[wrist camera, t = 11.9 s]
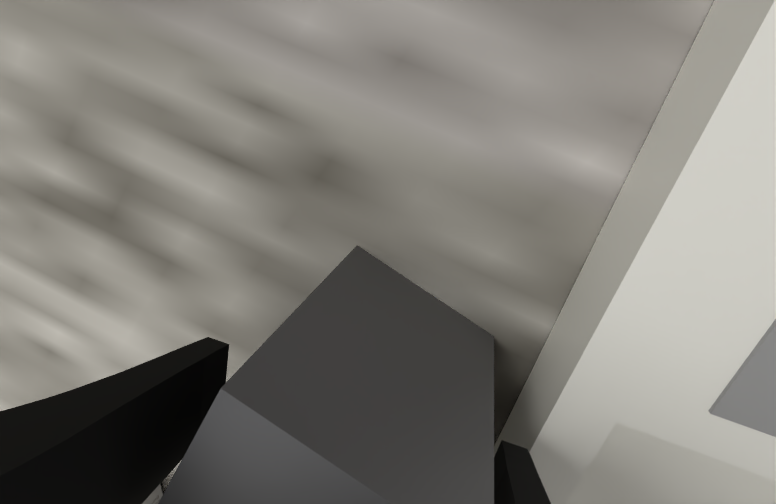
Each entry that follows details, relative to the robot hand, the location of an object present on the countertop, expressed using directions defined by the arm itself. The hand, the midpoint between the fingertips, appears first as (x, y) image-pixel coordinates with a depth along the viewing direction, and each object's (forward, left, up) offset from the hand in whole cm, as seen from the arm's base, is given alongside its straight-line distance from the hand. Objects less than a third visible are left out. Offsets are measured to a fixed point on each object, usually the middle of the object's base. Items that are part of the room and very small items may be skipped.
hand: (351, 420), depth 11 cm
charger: (0, 0, -3) cm, 3 cm away
